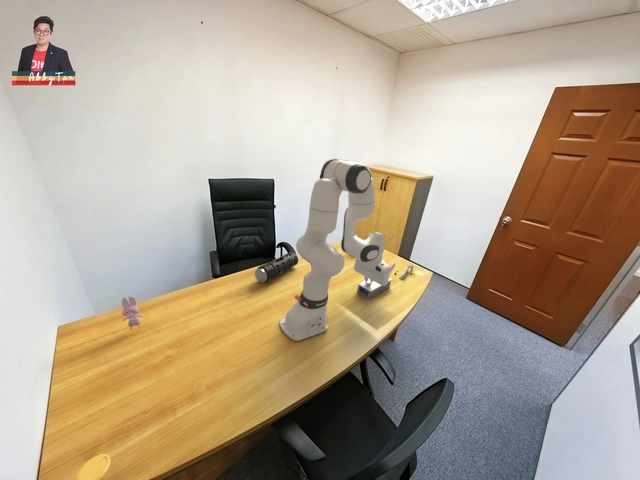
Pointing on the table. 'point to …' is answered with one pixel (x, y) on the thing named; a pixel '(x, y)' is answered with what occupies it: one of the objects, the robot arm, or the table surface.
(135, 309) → the rabbit figure
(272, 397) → the table surface
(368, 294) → the base
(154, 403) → the table surface
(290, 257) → the muzzle brake
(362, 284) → the panel
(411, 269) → the white narrow angled pieces
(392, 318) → the table surface
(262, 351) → the table surface
